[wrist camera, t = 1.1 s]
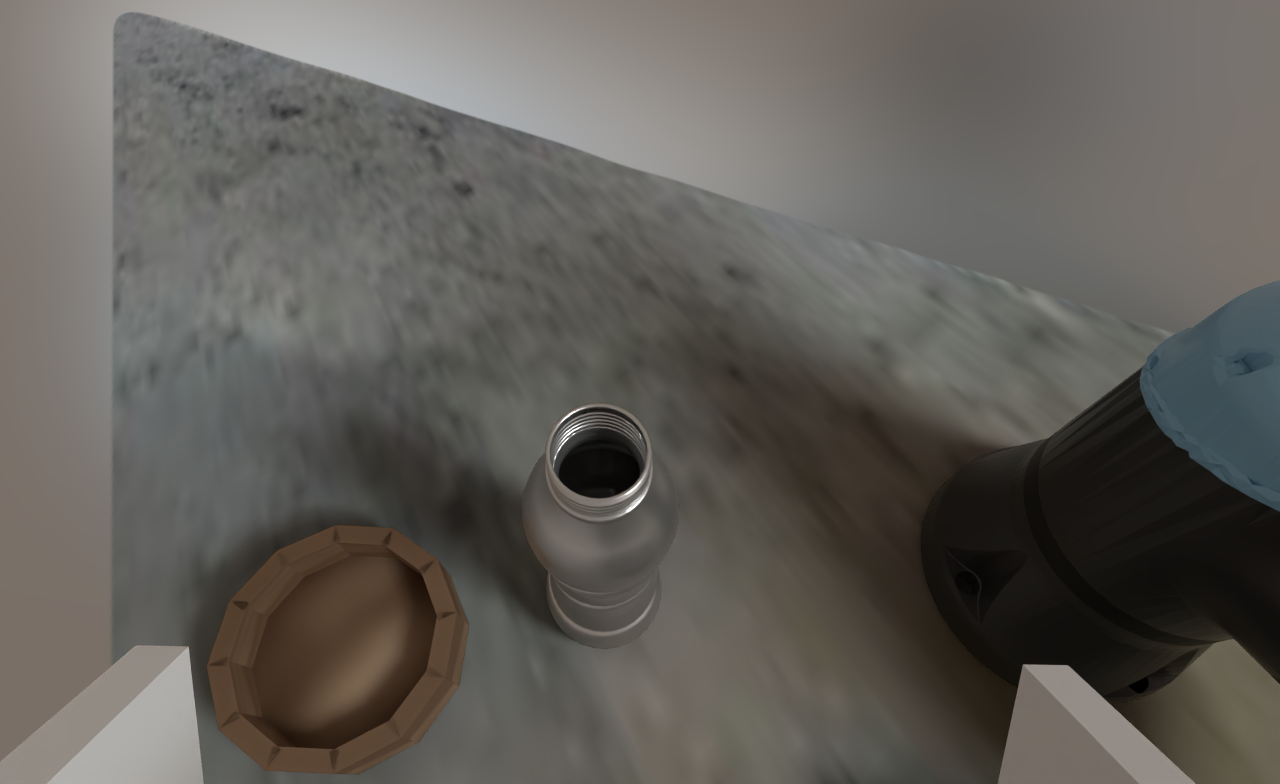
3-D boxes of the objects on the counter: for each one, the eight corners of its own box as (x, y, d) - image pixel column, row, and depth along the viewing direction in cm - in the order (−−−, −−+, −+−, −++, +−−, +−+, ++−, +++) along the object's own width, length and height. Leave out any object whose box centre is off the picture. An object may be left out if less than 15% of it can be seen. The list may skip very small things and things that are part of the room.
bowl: (508, 616, 38) (500, 602, 35) (359, 825, 33) (333, 830, 30) (356, 509, 41) (336, 487, 38) (196, 684, 36) (158, 675, 33)
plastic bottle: (560, 669, 37) (516, 572, 20) (541, 553, 40) (488, 383, 23) (671, 641, 38) (721, 527, 21) (643, 530, 41) (667, 351, 24)
